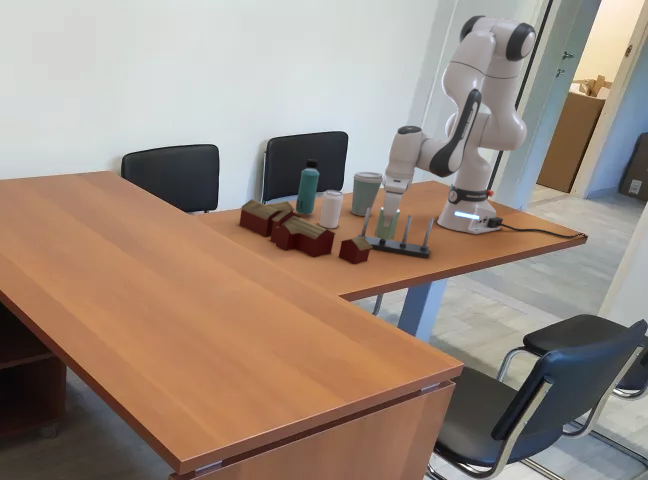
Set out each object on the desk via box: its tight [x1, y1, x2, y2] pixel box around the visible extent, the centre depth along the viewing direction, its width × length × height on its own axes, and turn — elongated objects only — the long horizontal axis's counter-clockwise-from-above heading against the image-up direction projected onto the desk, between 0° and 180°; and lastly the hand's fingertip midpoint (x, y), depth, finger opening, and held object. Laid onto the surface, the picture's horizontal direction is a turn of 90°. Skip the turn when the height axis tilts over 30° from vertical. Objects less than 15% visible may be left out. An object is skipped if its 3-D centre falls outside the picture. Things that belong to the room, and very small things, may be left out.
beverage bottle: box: [295, 158, 320, 215], centre depth 252 cm, size 6×7×20 cm
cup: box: [374, 206, 401, 240], centre depth 229 cm, size 6×6×9 cm
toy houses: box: [239, 199, 373, 265], centre depth 230 cm, size 45×20×10 cm, turn 35°
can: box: [318, 189, 344, 230], centre depth 246 cm, size 6×6×12 cm
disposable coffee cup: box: [351, 171, 383, 217], centre depth 260 cm, size 11×11×15 cm
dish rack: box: [356, 208, 434, 259], centre depth 230 cm, size 23×8×12 cm, turn 69°
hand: (387, 223), depth 229 cm, fingers closed on cup, 6 cm apart
